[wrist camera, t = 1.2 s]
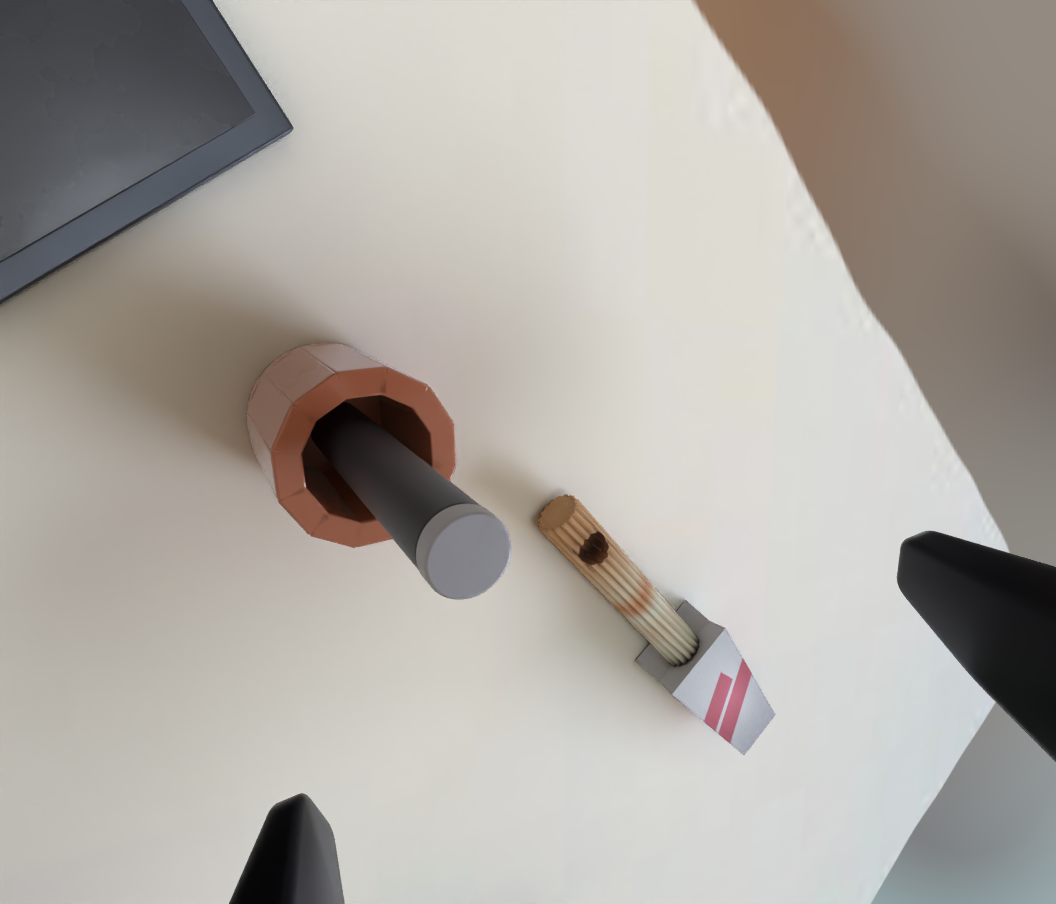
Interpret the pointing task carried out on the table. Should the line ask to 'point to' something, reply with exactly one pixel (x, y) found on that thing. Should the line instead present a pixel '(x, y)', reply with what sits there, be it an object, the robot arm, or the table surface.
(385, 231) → the table surface
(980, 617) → the robot arm
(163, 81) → the tablet
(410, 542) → the stylus
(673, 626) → the paintbrush
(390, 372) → the pen cup
